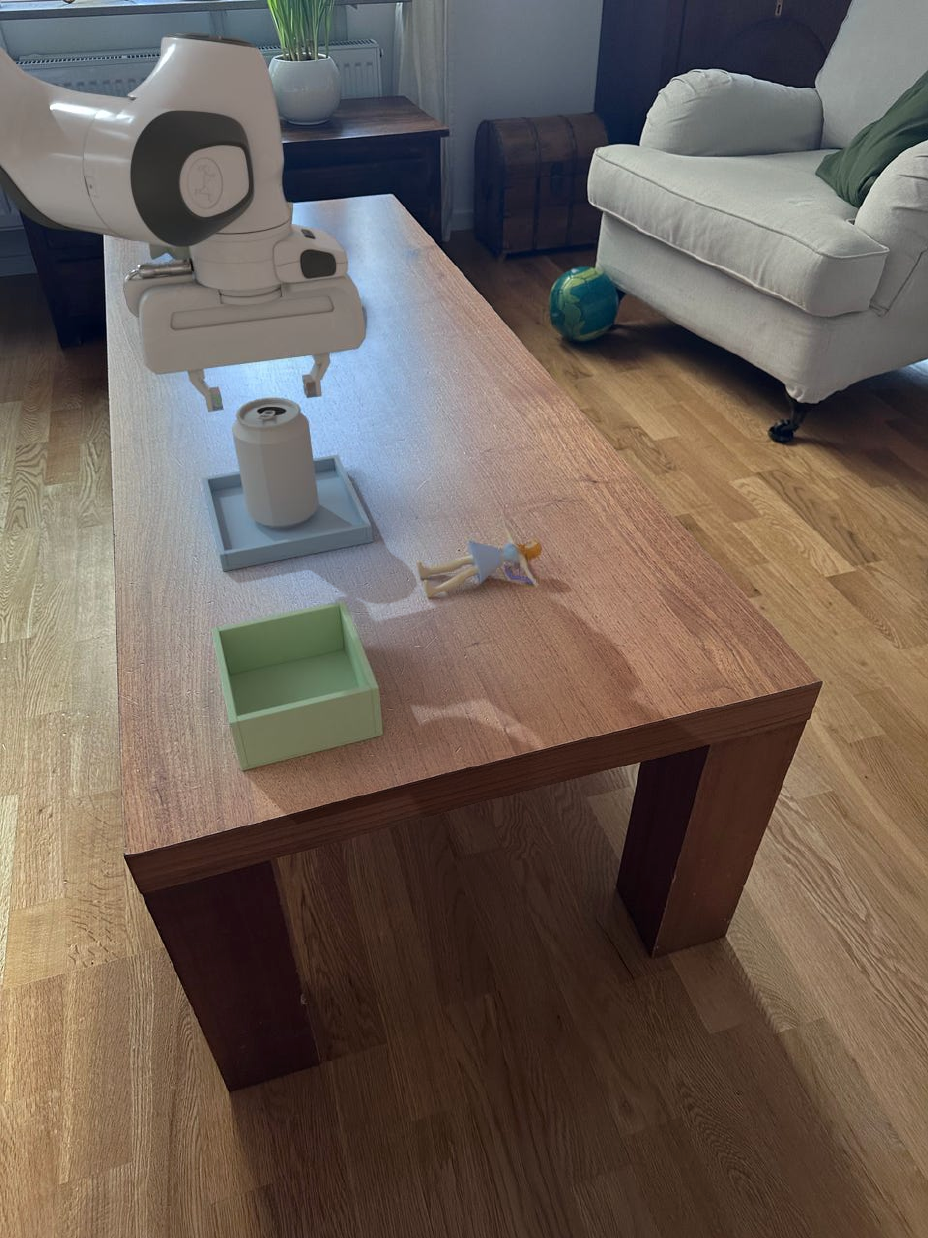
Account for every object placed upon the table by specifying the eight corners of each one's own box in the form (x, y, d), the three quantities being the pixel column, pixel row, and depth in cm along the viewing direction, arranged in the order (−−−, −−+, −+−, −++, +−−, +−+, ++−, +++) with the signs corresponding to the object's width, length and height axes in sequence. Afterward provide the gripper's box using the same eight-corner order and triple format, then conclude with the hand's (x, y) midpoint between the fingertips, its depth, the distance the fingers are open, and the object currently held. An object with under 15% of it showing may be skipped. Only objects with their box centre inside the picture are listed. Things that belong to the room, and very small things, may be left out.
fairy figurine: (405, 525, 86) (521, 496, 88) (412, 563, 90) (525, 534, 91) (432, 596, 78) (560, 563, 79) (439, 635, 81) (562, 603, 83)
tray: (223, 571, 87) (219, 555, 85) (204, 493, 98) (201, 477, 96) (373, 541, 90) (371, 525, 89) (339, 469, 101) (337, 454, 100)
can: (326, 496, 96) (314, 393, 88) (310, 535, 90) (296, 429, 83) (259, 492, 97) (241, 390, 89) (239, 531, 91) (218, 425, 83)
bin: (241, 771, 67) (229, 723, 64) (222, 675, 75) (210, 628, 72) (383, 735, 70) (379, 687, 67) (350, 646, 78) (344, 599, 75)
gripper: (119, 278, 71) (156, 432, 80) (365, 253, 77) (373, 400, 86) (116, 254, 76) (150, 402, 85) (347, 232, 81) (358, 374, 90)
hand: (264, 401), depth 85 cm, fingers open, 8 cm apart
